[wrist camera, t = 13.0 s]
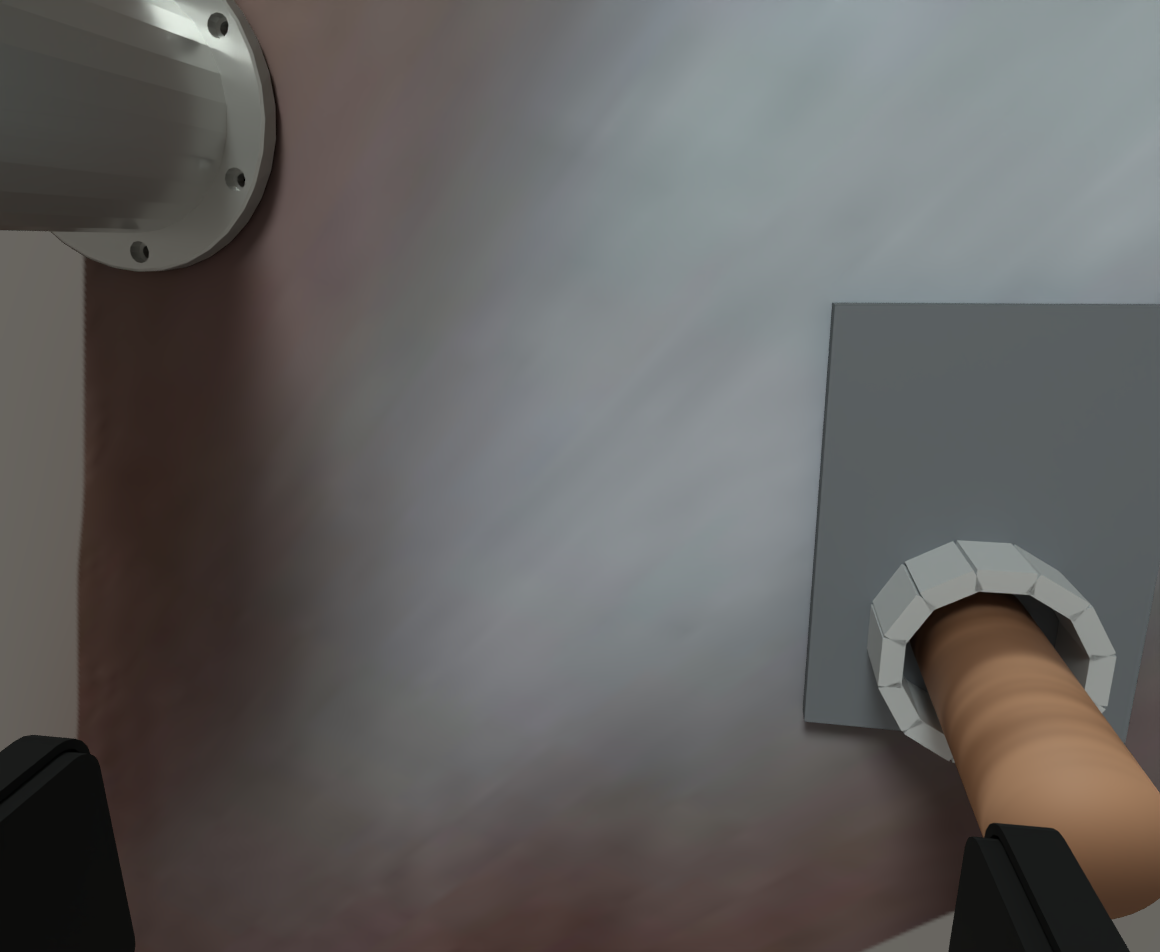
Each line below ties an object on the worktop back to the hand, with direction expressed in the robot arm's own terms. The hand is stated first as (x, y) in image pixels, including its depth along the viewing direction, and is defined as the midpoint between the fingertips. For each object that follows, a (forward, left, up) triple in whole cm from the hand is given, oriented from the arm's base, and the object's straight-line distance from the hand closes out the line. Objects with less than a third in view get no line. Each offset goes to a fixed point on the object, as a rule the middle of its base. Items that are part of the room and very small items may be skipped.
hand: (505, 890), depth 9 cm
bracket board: (+4, +11, -26) cm, 28 cm away
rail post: (+8, +11, -25) cm, 28 cm away
